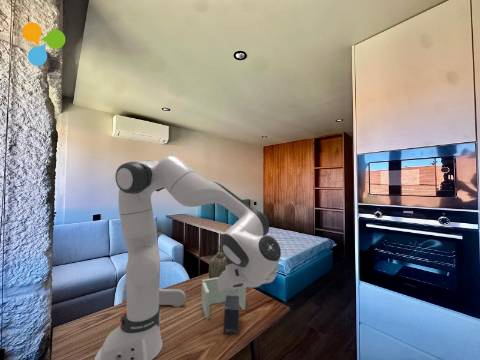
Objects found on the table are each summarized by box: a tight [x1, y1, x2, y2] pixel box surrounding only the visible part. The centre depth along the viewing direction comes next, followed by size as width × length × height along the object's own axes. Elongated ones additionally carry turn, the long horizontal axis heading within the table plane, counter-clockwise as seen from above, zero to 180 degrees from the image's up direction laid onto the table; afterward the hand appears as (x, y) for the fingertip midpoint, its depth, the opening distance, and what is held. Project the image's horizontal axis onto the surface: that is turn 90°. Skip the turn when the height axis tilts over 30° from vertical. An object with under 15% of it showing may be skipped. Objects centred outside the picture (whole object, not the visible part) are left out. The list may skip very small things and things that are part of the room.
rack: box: [201, 277, 247, 319], centre depth 104 cm, size 20×12×13 cm, turn 111°
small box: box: [223, 296, 240, 335], centre depth 91 cm, size 11×6×10 cm, turn 179°
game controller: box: [159, 288, 187, 308], centre depth 104 cm, size 20×2×8 cm, turn 90°
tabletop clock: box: [208, 244, 231, 279], centre depth 126 cm, size 14×9×25 cm, turn 164°
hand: (241, 286), depth 75 cm, fingers open, 4 cm apart
